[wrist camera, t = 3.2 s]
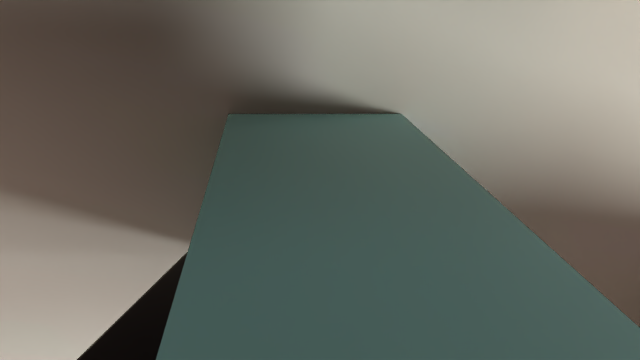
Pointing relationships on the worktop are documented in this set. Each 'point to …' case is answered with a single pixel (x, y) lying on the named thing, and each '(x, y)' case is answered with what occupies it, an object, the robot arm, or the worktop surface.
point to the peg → (371, 256)
